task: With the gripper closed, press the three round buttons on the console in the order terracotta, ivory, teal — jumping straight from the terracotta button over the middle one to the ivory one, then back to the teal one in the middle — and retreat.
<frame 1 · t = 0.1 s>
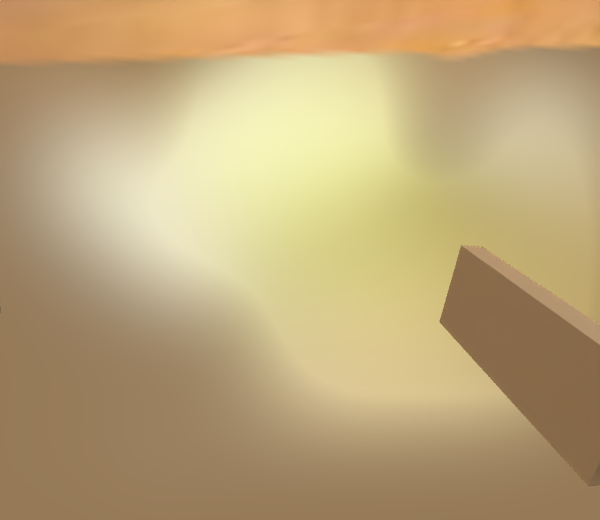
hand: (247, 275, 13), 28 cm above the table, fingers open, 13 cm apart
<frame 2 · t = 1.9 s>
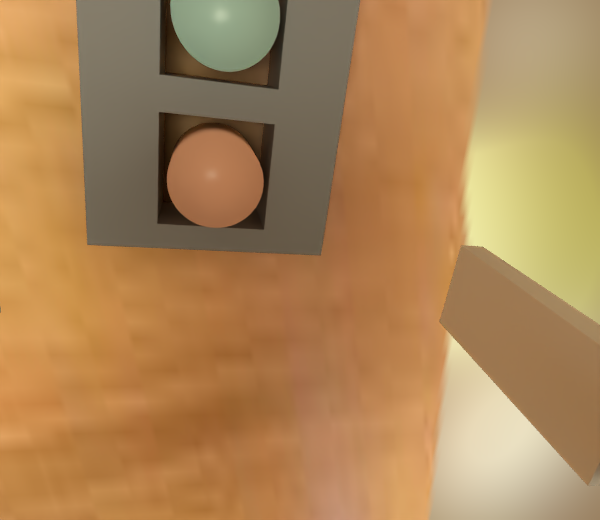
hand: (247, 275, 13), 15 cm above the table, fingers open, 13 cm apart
button terracotta: (214, 173, 23), point 4 cm above the table, slide at 0.0 cm
console: (220, 23, 24), on the table
button teal: (224, 17, 21), point 4 cm above the table, slide at 0.0 cm
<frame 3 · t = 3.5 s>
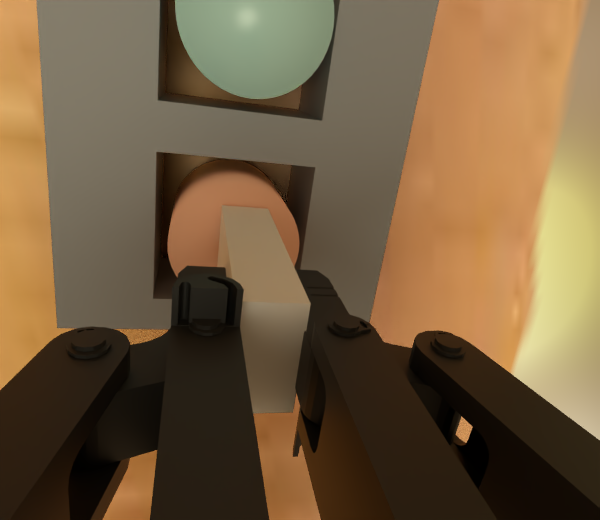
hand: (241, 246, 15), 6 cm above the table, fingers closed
button terracotta: (231, 228, 17), point 3 cm above the table, slide at 0.3 cm, touching gripper
console: (240, 28, 18), on the table
button teal: (249, 20, 15), point 4 cm above the table, slide at 0.0 cm
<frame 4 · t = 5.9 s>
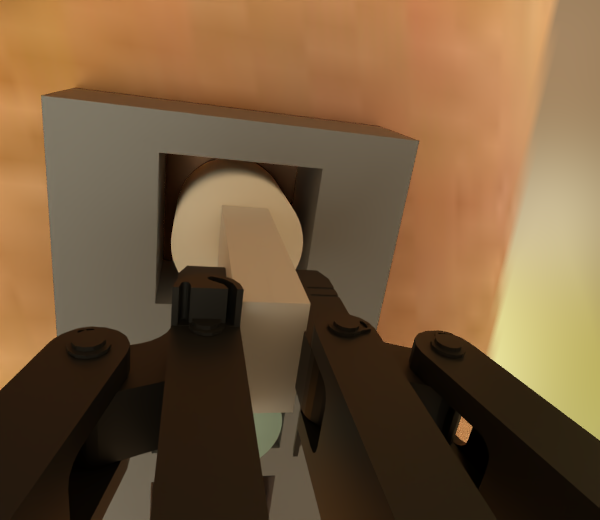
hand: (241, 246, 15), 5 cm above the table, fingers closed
console: (218, 345, 22), on the table
button ivory: (234, 226, 17), point 3 cm above the table, slide at 0.8 cm, touching gripper
button teal: (221, 393, 19), point 4 cm above the table, slide at 0.0 cm
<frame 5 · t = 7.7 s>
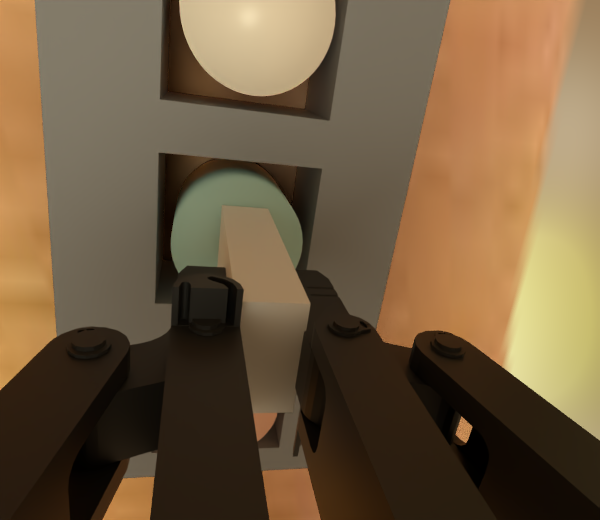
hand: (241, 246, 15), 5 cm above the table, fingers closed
button terracotta: (220, 380, 20), point 3 cm above the table, slide at 0.9 cm
console: (230, 205, 20), on the table
button ivory: (252, 19, 15), point 3 cm above the table, slide at 0.8 cm
button teal: (234, 226, 17), point 3 cm above the table, slide at 0.8 cm, touching gripper
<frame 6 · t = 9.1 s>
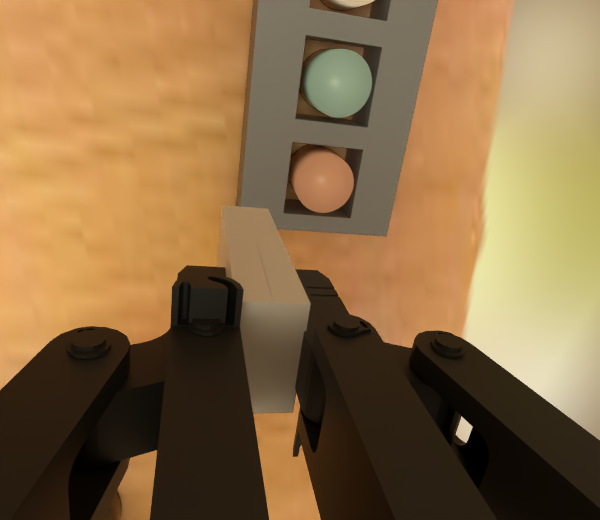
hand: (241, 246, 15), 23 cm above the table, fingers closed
button terracotta: (319, 177, 36), point 3 cm above the table, slide at 0.9 cm
console: (325, 80, 36), on the table
button teal: (333, 82, 33), point 3 cm above the table, slide at 0.8 cm
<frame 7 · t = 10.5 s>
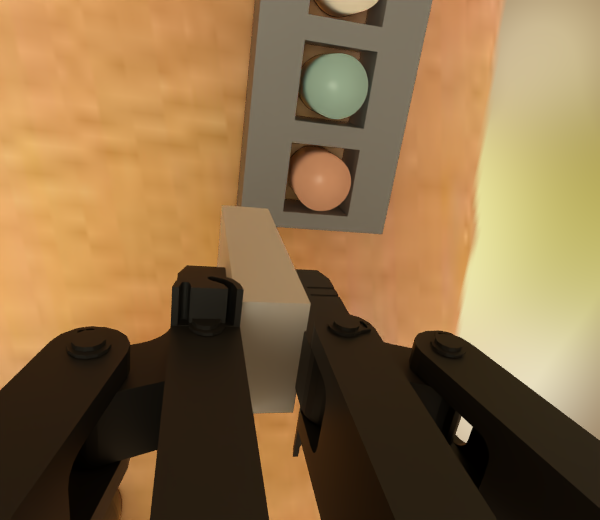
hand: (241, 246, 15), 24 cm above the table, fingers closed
button terracotta: (317, 177, 37), point 3 cm above the table, slide at 0.9 cm
console: (322, 83, 37), on the table
button teal: (331, 85, 35), point 3 cm above the table, slide at 0.8 cm
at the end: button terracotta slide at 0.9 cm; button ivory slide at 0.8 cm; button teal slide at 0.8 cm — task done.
